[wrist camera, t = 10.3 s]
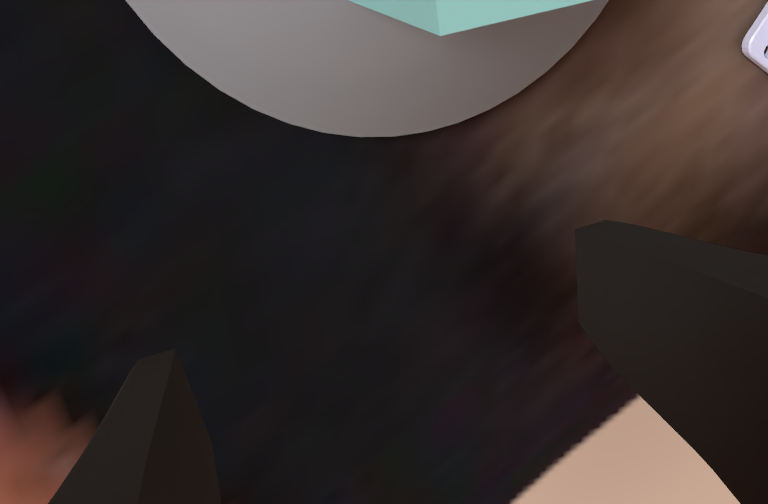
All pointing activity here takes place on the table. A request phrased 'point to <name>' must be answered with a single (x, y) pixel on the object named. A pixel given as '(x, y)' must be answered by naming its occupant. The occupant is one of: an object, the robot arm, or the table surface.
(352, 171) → the table surface
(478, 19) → the tall mint rectangular block
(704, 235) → the table surface
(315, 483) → the table surface
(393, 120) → the plate
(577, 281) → the robot arm
